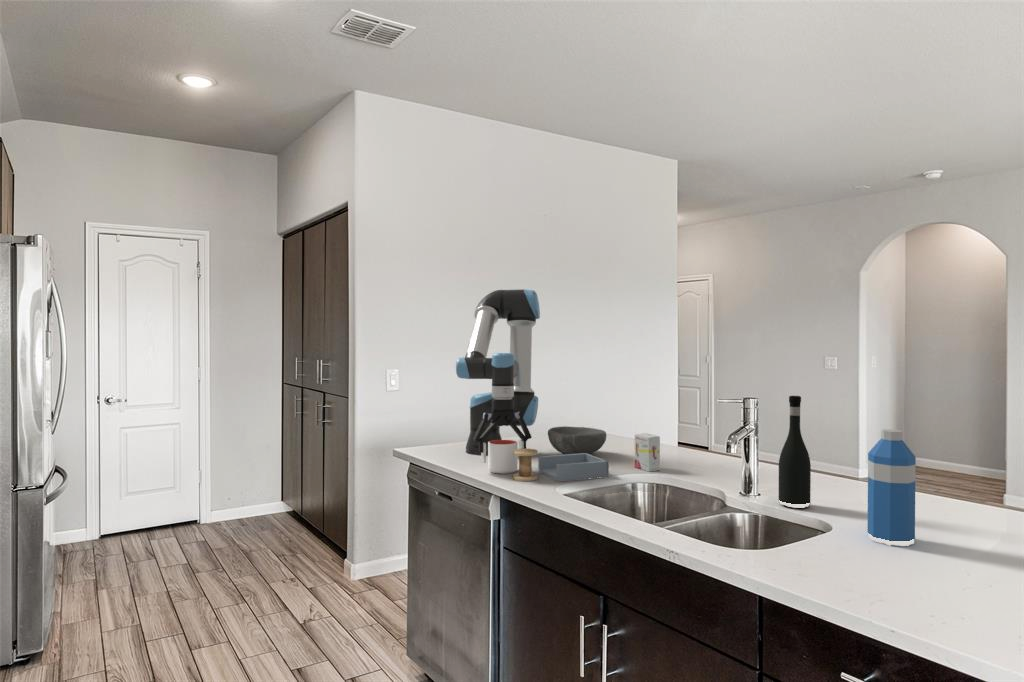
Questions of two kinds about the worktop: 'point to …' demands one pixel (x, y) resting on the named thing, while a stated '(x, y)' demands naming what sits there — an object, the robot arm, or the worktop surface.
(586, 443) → the bowl
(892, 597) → the worktop surface
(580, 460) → the notch board
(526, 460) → the bobbin
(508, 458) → the cup
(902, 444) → the water bottle
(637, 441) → the ink box
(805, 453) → the wine bottle
